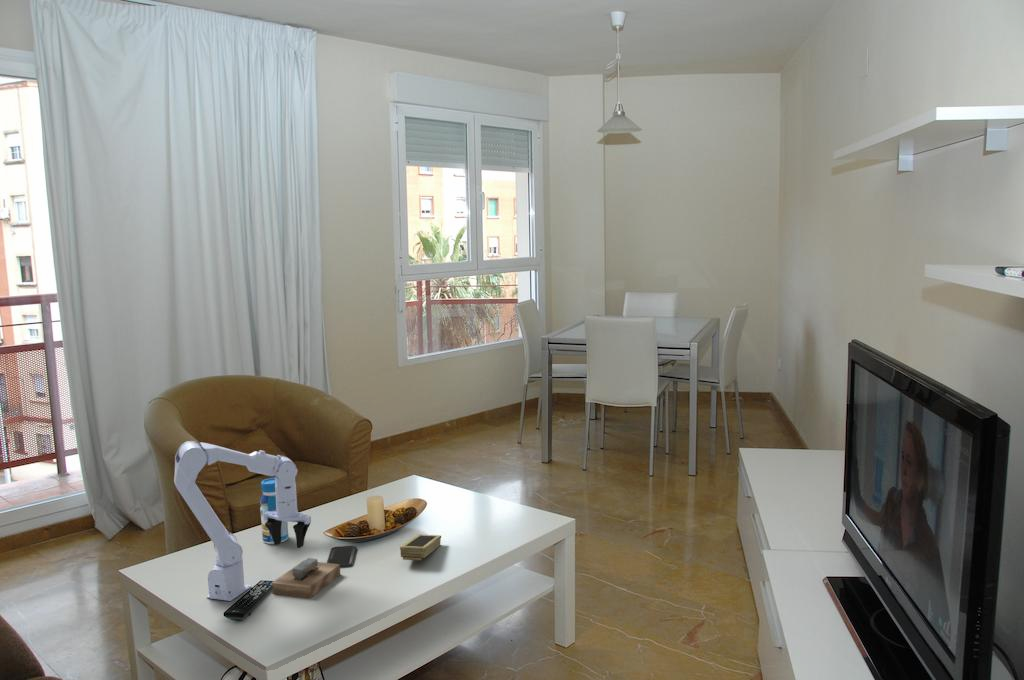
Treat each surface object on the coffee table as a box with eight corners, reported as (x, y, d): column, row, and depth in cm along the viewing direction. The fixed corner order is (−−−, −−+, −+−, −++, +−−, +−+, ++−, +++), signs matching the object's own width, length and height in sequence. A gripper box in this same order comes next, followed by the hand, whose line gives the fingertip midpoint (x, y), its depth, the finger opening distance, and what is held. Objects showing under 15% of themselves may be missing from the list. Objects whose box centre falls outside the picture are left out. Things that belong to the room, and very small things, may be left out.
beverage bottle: (282, 545, 254) (278, 484, 251) (257, 544, 255) (253, 484, 253) (293, 535, 262) (289, 477, 260) (269, 534, 263) (265, 476, 261)
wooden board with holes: (310, 598, 215) (309, 587, 214) (272, 593, 218) (271, 582, 218) (340, 574, 230) (339, 564, 229) (304, 570, 233) (303, 560, 233)
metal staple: (303, 590, 219) (301, 570, 219) (293, 589, 220) (292, 569, 220) (318, 578, 227) (317, 558, 226) (309, 577, 228) (308, 557, 227)
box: (399, 563, 233) (399, 546, 233) (418, 547, 255) (418, 531, 255) (426, 565, 232) (426, 548, 232) (443, 548, 254) (443, 532, 254)
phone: (356, 545, 250) (351, 564, 235) (356, 548, 250) (352, 568, 235) (331, 547, 249) (325, 566, 234) (331, 550, 249) (325, 569, 234)
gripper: (316, 497, 227) (318, 542, 228) (273, 493, 231) (276, 537, 233) (301, 505, 220) (304, 551, 222) (258, 500, 225) (261, 546, 226)
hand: (289, 545), depth 227 cm, fingers open, 7 cm apart
